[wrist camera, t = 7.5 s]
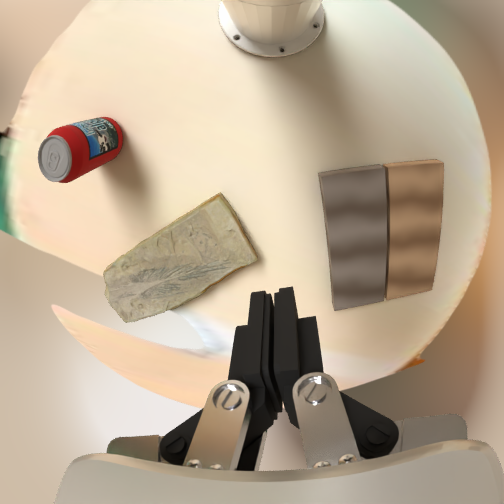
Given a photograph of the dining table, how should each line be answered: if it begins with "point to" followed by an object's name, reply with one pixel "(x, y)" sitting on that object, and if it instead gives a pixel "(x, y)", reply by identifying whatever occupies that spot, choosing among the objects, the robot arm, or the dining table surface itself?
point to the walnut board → (412, 225)
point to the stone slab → (178, 261)
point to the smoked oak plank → (356, 234)
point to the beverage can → (79, 148)
